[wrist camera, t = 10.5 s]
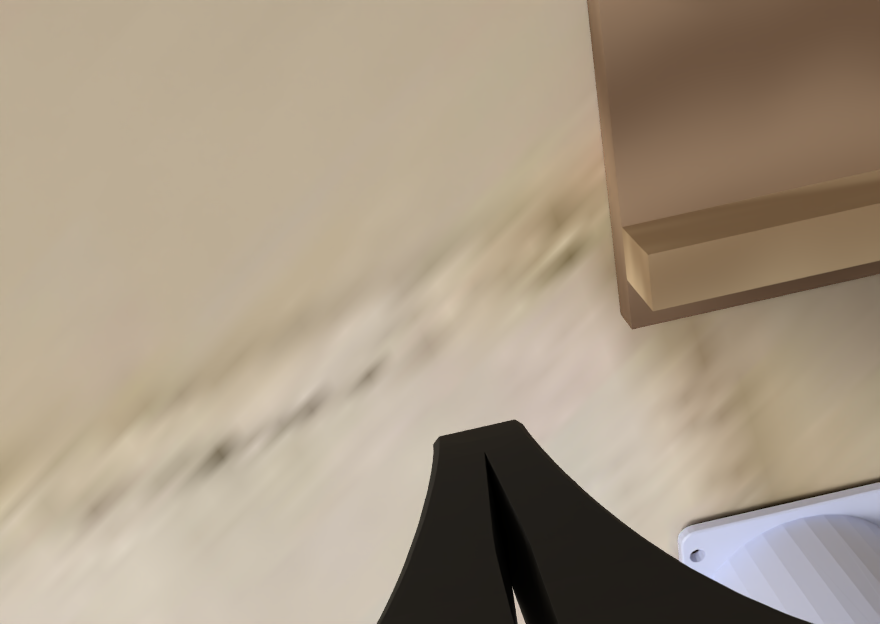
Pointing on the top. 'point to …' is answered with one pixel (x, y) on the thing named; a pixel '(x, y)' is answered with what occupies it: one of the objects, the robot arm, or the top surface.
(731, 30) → the chute
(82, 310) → the top surface
